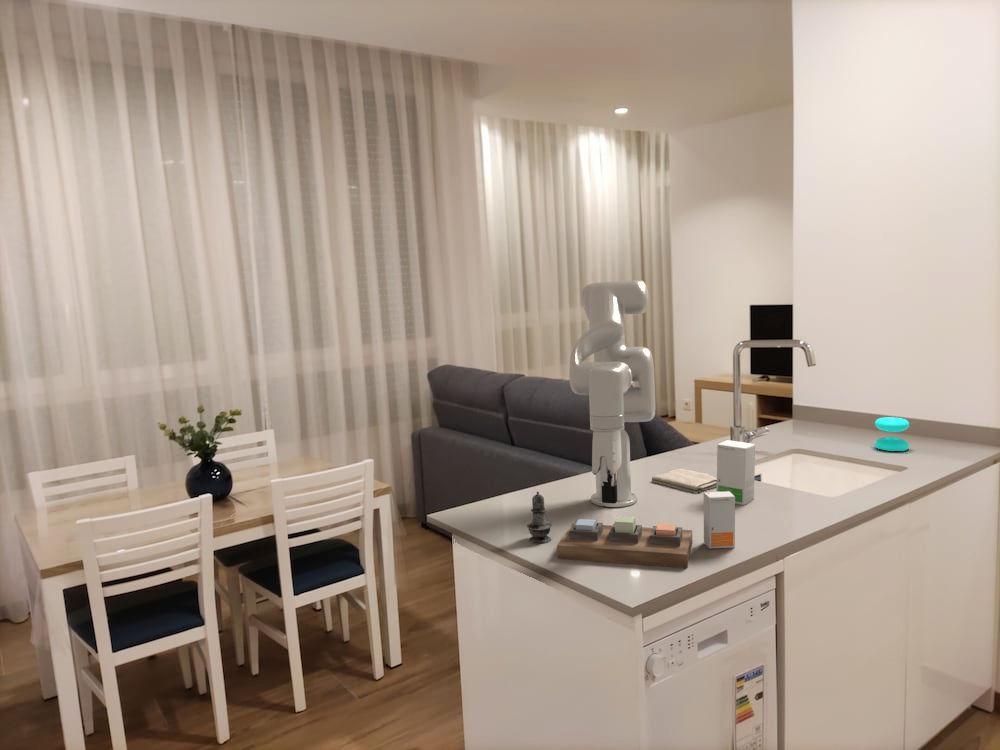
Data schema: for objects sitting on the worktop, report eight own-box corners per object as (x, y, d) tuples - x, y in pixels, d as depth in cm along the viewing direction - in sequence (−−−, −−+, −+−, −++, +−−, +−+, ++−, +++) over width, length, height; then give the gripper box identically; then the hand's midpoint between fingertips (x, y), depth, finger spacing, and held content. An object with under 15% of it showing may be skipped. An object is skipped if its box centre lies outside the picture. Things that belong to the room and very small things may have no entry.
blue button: (579, 529, 170) (579, 518, 170) (596, 530, 169) (596, 519, 168) (575, 535, 166) (575, 524, 166) (593, 536, 165) (592, 525, 164)
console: (572, 535, 176) (572, 515, 176) (692, 542, 167) (692, 521, 167) (557, 558, 162) (556, 536, 162) (687, 568, 153) (686, 545, 153)
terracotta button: (658, 534, 164) (657, 523, 164) (676, 535, 163) (676, 524, 162) (656, 540, 160) (655, 529, 160) (674, 542, 159) (674, 530, 159)
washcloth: (698, 496, 204) (698, 485, 203) (649, 483, 218) (649, 473, 217) (725, 487, 211) (724, 476, 210) (675, 475, 225) (675, 466, 225)
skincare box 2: (715, 500, 197) (715, 444, 195) (726, 494, 202) (726, 439, 200) (745, 505, 192) (745, 447, 190) (756, 499, 196) (755, 442, 194)
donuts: (902, 423, 233) (870, 420, 240) (902, 454, 234) (869, 450, 242) (914, 418, 240) (881, 415, 247) (913, 448, 241) (881, 444, 248)
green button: (618, 526, 167) (617, 515, 166) (635, 527, 165) (635, 516, 165) (615, 532, 163) (614, 521, 163) (633, 533, 162) (632, 522, 161)
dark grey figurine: (550, 534, 177) (548, 486, 176) (553, 543, 172) (551, 493, 170) (526, 536, 177) (524, 488, 176) (528, 545, 171) (526, 495, 170)
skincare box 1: (708, 549, 163) (708, 497, 161) (703, 542, 167) (702, 492, 166) (736, 548, 163) (735, 496, 161) (730, 541, 167) (729, 490, 166)
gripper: (598, 415, 170) (600, 491, 173) (582, 428, 156) (585, 511, 159) (630, 416, 168) (632, 493, 170) (617, 429, 154) (619, 513, 156)
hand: (609, 501), depth 164 cm, fingers closed
